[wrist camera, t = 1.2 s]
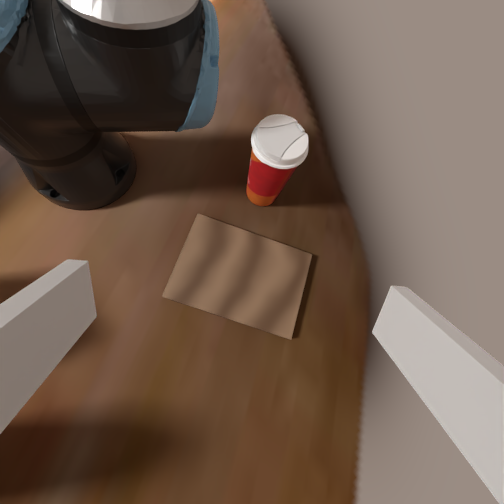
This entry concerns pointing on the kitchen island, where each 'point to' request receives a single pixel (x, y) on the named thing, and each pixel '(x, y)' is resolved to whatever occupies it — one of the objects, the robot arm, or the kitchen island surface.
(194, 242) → the walnut board
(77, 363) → the kitchen island surface
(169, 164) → the kitchen island surface
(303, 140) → the paper cup
